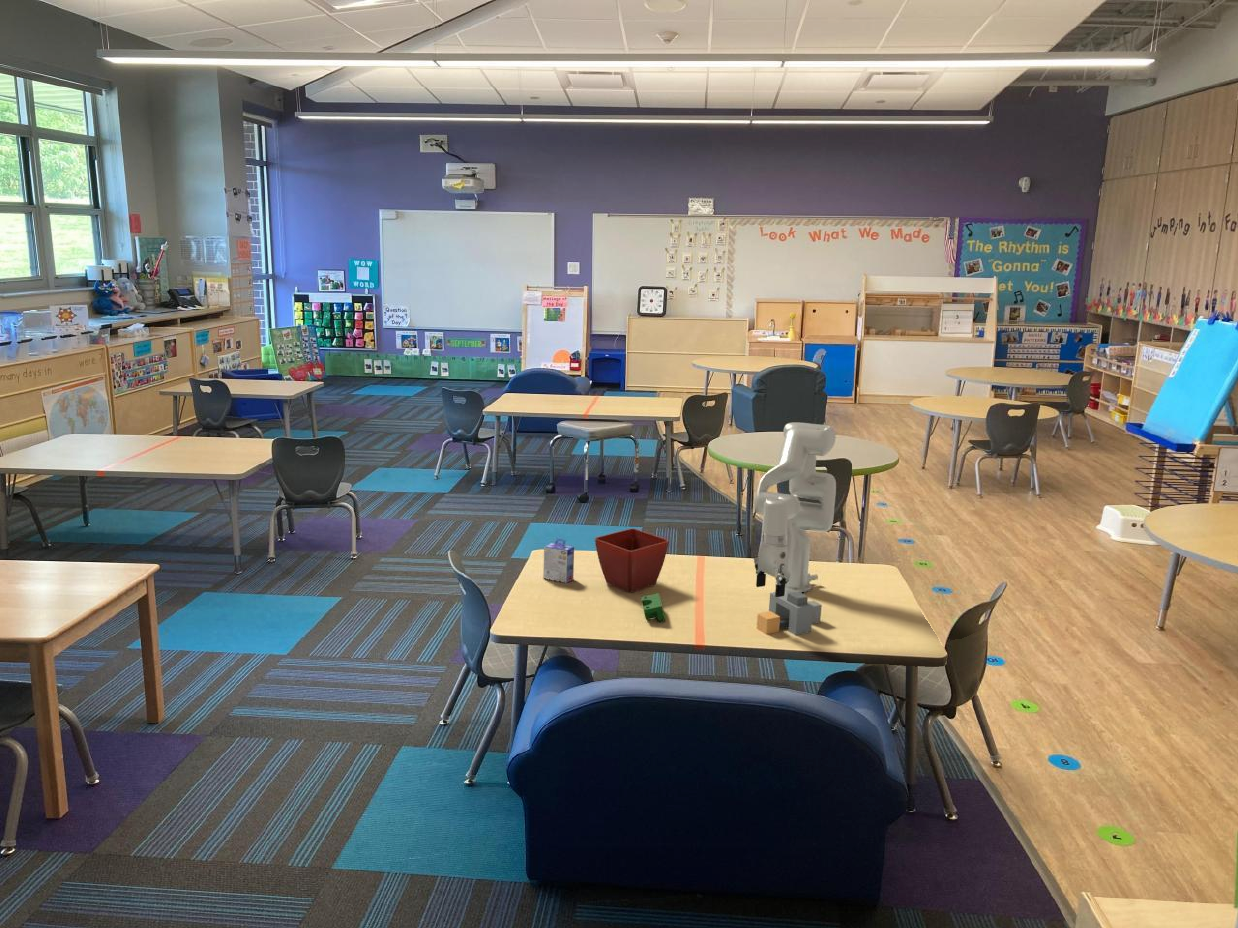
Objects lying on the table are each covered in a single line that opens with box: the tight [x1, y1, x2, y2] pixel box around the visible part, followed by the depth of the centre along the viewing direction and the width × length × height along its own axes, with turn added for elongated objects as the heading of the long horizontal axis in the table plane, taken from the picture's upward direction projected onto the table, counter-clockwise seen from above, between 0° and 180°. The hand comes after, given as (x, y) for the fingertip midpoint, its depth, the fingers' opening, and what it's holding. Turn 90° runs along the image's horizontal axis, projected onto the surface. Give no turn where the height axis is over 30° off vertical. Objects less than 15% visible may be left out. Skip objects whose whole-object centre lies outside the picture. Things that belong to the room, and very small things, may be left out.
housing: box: [768, 591, 813, 636], centre depth 297 cm, size 6×14×12 cm, turn 28°
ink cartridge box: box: [542, 538, 575, 584], centre depth 331 cm, size 10×6×14 cm, turn 65°
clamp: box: [641, 592, 666, 623], centre depth 302 cm, size 12×6×9 cm, turn 177°
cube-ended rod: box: [756, 600, 822, 635], centre depth 297 cm, size 22×5×6 cm, turn 118°
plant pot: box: [594, 528, 670, 593], centre depth 328 cm, size 19×19×17 cm
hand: (770, 591), depth 291 cm, fingers open, 9 cm apart
